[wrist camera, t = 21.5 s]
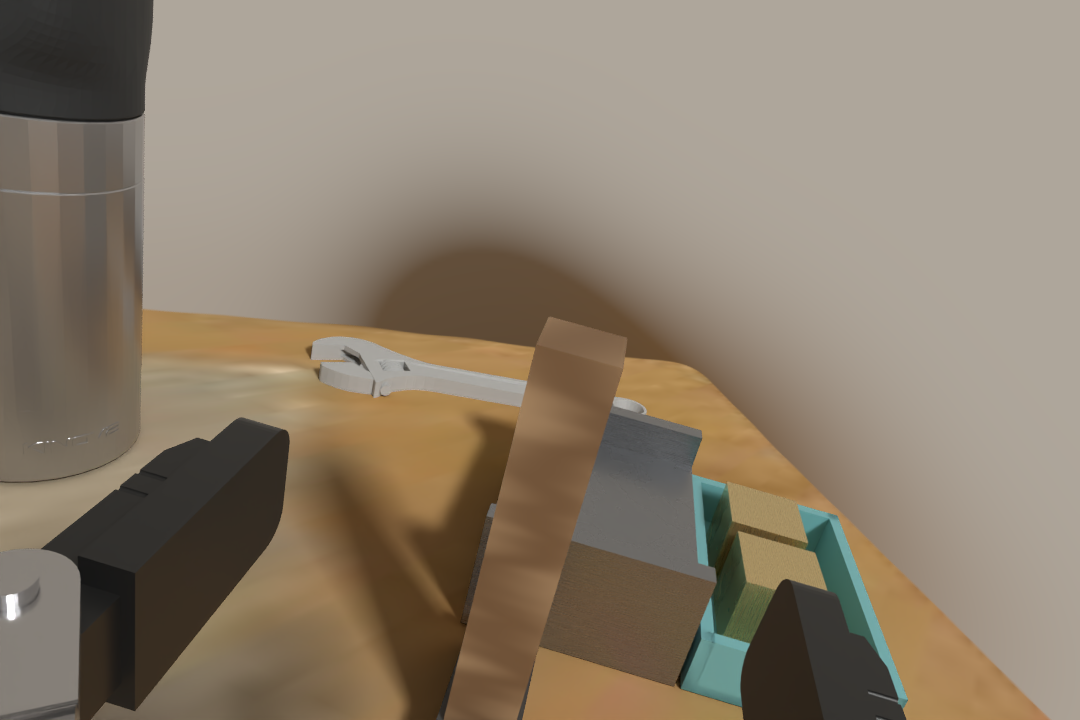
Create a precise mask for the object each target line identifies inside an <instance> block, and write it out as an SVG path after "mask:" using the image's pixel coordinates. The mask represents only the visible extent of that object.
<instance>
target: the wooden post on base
mask: <svg viewBox="0 0 1080 720" xmlns="http://www.w3.org/2000/svg"><path fill="white" fill-rule="evenodd" d="M626 344H627V338H626V337H622V336H618V335H614V334H611V333H607V332H603V331H600V330H596V329H593V328H589V327H586V326H582V325H578V324H574V323H571V322H567V321H564V320H559V319H556V318H553V317H549V318H548V320H547V322H546V325H545V327H544V329H543V331H542V333H541V335H540V338H539V340H538V342H537V344H536V348H535V352H534V356H533V360H532V364H531V368H530V372H529V376H528V380H527V384H526V388H525V392H524V396H523V400H522V404H521V408H520V412H519V416H518V421H517V425H516V429H515V433H514V437H513V441H512V445H511V449H510V453H509V457H508V461H507V465H506V469H505V473H504V477H503V481H502V485H501V489H500V493H499V497H498V501H497V505H496V509H495V514H494V518H493V522H492V526H491V530H490V534H489V538H488V542H487V546H486V550H485V554H484V558H483V562H482V566H481V570H480V574H479V578H478V582H477V586H476V590H475V594H474V598H473V602H472V607H471V611H470V615H469V619H468V623H467V627H466V631H465V635H464V639H463V643H462V647H461V650H460V653H459V656H458V659H457V662H456V665H455V667H454V670H453V673H452V676H451V679H450V682H449V685H448V688H447V690H446V693H445V696H444V699H443V702H442V705H441V708H440V710H439V713H438V716H437V719H436V720H522V718H523V713H524V709H525V704H526V699H527V695H528V690H529V686H530V681H531V676H532V672H533V667H534V663H535V658H536V655H537V651H538V648H539V645H540V641H541V638H542V635H543V631H544V628H545V625H546V622H547V618H548V615H549V612H550V608H551V605H552V602H553V598H554V595H555V592H556V589H557V585H558V582H559V579H560V575H561V572H562V569H563V566H564V562H565V559H566V556H567V552H568V549H569V546H570V542H571V539H572V536H573V533H574V529H575V526H576V523H577V519H578V516H579V513H580V509H581V506H582V503H583V500H584V496H585V493H586V490H587V486H588V483H589V480H590V476H591V473H592V470H593V467H594V463H595V460H596V457H597V453H598V450H599V447H600V443H601V440H602V437H603V434H604V430H605V427H606V424H607V420H608V417H609V414H610V410H611V407H612V404H613V401H614V397H615V394H616V391H617V387H618V384H619V381H620V377H621V374H622V371H623V366H624V359H625V352H626Z"/></svg>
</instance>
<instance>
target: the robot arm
mask: <svg viewBox="0 0 1080 720" xmlns="http://www.w3.org/2000/svg"><path fill="white" fill-rule="evenodd" d="M152 23H153V0H0V481H5V482H27V481H41V480H49V479H57V478H62V477H67V476H71V475H76V474H80V473H83V472H86V471H89V470H92V469H95V468H98V467H100V466H102V465H104V464H106V463H108V462H110V461H112V460H115V459H116V458H118V457H119V456H120V455H122V454H123V453H125V452H126V451H127V450H129V448H130V447H131V446H132V445H133V444H134V443H135V442H136V440H137V438H138V435H139V433H140V406H141V366H142V298H143V297H142V296H143V293H142V292H143V226H144V128H145V127H144V126H145V114H144V111H145V80H146V72H147V65H148V58H149V52H150V51H149V50H150V44H151V35H152ZM289 442H290V440H289V434H288V432H287V431H286V430H283V429H280V428H276V427H273V426H269V425H266V424H263V423H259V422H256V421H252V420H249V419H246V418H238V419H236V420H235V421H233V422H232V423H231V424H230V425H229V426H228V427H226V428H225V429H224V430H223V431H222V432H221V433H219V434H218V435H217V436H216V437H215V438H214V439H212V440H211V441H207V440H203V439H200V438H195V439H193V440H190V441H188V442H185V443H182V444H180V445H177V446H175V447H172V448H169V449H167V450H164V451H163V452H162V453H161V454H159V455H158V456H157V457H156V458H154V459H153V460H152V461H151V462H149V463H148V464H147V465H146V466H144V467H143V468H142V469H140V473H139V474H136V473H135V474H134V475H133V476H132V477H130V478H129V479H128V480H127V481H125V482H124V483H123V484H122V485H121V486H120V489H119V490H114V491H113V492H112V493H110V494H109V495H108V496H107V497H105V498H104V499H103V500H102V501H100V502H99V503H98V504H97V505H95V506H94V507H93V508H92V509H90V510H89V511H88V512H87V513H85V514H84V515H83V516H82V517H80V518H79V519H78V520H77V521H75V522H74V523H73V524H72V525H70V526H69V527H68V528H67V529H65V530H64V531H63V532H62V533H60V534H59V535H58V536H57V537H55V538H54V539H53V540H52V541H50V542H49V543H48V544H47V545H45V546H44V547H43V548H42V549H15V550H9V551H3V552H0V720H90V719H91V718H92V717H93V716H94V715H95V713H96V712H97V711H98V710H99V709H100V708H101V706H102V705H103V704H104V703H105V702H108V703H111V704H114V705H117V706H120V707H124V708H127V709H130V710H133V711H136V709H137V708H138V707H139V706H140V704H141V703H142V702H143V701H144V699H145V698H146V697H147V696H148V694H149V693H150V692H151V691H152V689H153V688H154V687H155V686H156V684H157V683H158V682H159V681H160V679H161V678H162V677H163V676H164V674H165V673H166V672H167V671H168V669H169V668H170V667H171V666H172V665H173V663H174V662H175V661H176V660H177V658H178V657H179V656H180V655H181V653H182V652H183V651H184V650H185V648H186V647H187V646H188V645H189V643H190V642H191V641H192V640H193V638H194V637H195V636H196V635H197V633H198V632H199V631H200V630H201V628H202V627H203V626H204V625H205V623H206V622H207V621H208V620H209V618H210V617H211V616H212V615H213V614H214V612H215V611H216V610H217V609H218V607H219V606H220V605H221V604H222V602H223V601H224V600H225V599H226V597H227V596H228V595H229V594H230V592H231V591H232V590H233V589H234V587H235V586H236V585H237V584H238V582H239V581H240V580H241V579H242V577H243V576H244V575H245V574H246V572H247V571H248V570H249V569H250V567H251V566H252V565H253V564H254V563H255V561H256V560H257V559H258V558H259V556H260V555H261V554H262V553H263V551H264V550H265V549H266V547H267V546H268V545H269V543H270V541H271V540H272V538H273V536H274V534H275V532H276V529H277V527H278V524H279V521H280V518H281V514H282V509H283V501H284V491H285V482H286V472H287V463H288V453H289ZM740 692H741V702H742V710H743V719H744V720H906V717H905V715H904V712H903V709H902V706H901V705H900V704H898V699H899V698H898V695H897V692H896V689H895V687H894V684H893V681H892V678H891V675H890V673H889V670H888V667H887V666H886V665H885V663H884V662H883V661H882V659H881V658H880V657H879V655H878V654H877V653H876V651H875V650H874V649H873V647H872V646H871V645H870V643H869V642H868V641H867V639H866V638H865V637H864V636H860V635H857V634H854V633H850V632H849V629H848V626H847V623H846V620H845V616H844V613H843V610H842V607H841V604H840V601H839V598H838V596H837V595H836V594H835V593H833V592H830V591H827V590H823V589H820V588H816V587H813V586H810V585H806V584H803V583H799V582H796V581H793V580H789V579H784V580H783V581H781V583H780V584H779V585H778V587H777V589H776V591H775V593H774V595H773V597H772V599H771V601H770V603H769V605H768V607H767V610H766V612H765V614H764V616H763V618H762V620H761V622H760V624H759V626H758V628H757V630H756V633H755V635H754V637H753V639H752V641H751V643H750V645H749V647H748V650H747V652H746V655H745V658H744V662H743V666H742V672H741V681H740Z"/></svg>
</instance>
